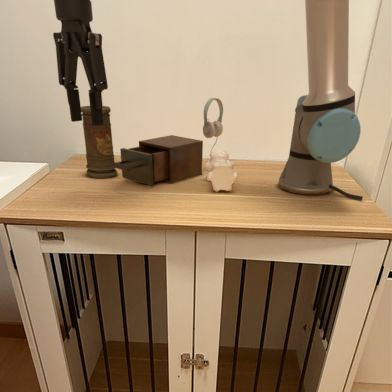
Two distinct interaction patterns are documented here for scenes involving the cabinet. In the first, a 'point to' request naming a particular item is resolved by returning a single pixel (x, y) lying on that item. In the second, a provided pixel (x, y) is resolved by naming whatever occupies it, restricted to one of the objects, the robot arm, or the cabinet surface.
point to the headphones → (216, 126)
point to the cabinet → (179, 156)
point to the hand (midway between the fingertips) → (87, 122)
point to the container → (98, 145)
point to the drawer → (143, 164)
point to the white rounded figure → (220, 171)
